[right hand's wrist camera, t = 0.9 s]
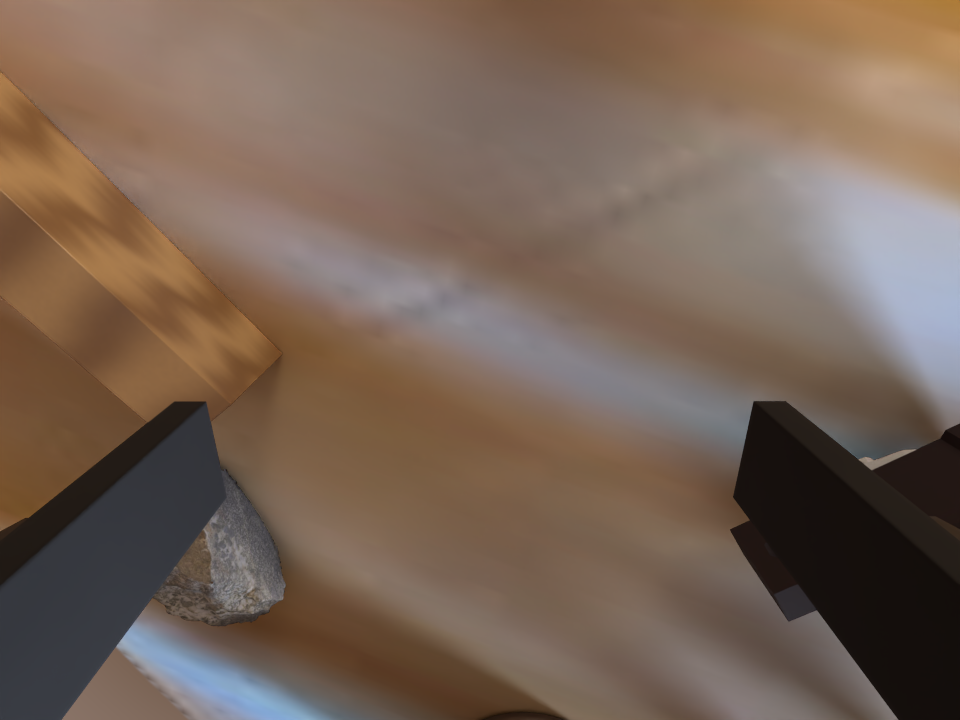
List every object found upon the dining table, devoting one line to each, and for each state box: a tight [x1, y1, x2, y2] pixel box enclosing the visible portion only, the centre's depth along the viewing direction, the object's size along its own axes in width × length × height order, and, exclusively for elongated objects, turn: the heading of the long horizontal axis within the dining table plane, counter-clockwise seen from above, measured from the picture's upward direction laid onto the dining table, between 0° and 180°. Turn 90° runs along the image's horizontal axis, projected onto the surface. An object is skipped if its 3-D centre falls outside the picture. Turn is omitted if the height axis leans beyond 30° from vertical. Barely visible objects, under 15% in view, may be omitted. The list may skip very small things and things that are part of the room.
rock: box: [152, 469, 286, 626], centre depth 38 cm, size 13×9×6 cm, turn 23°
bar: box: [0, 71, 282, 423], centre depth 29 cm, size 24×4×8 cm, turn 39°
